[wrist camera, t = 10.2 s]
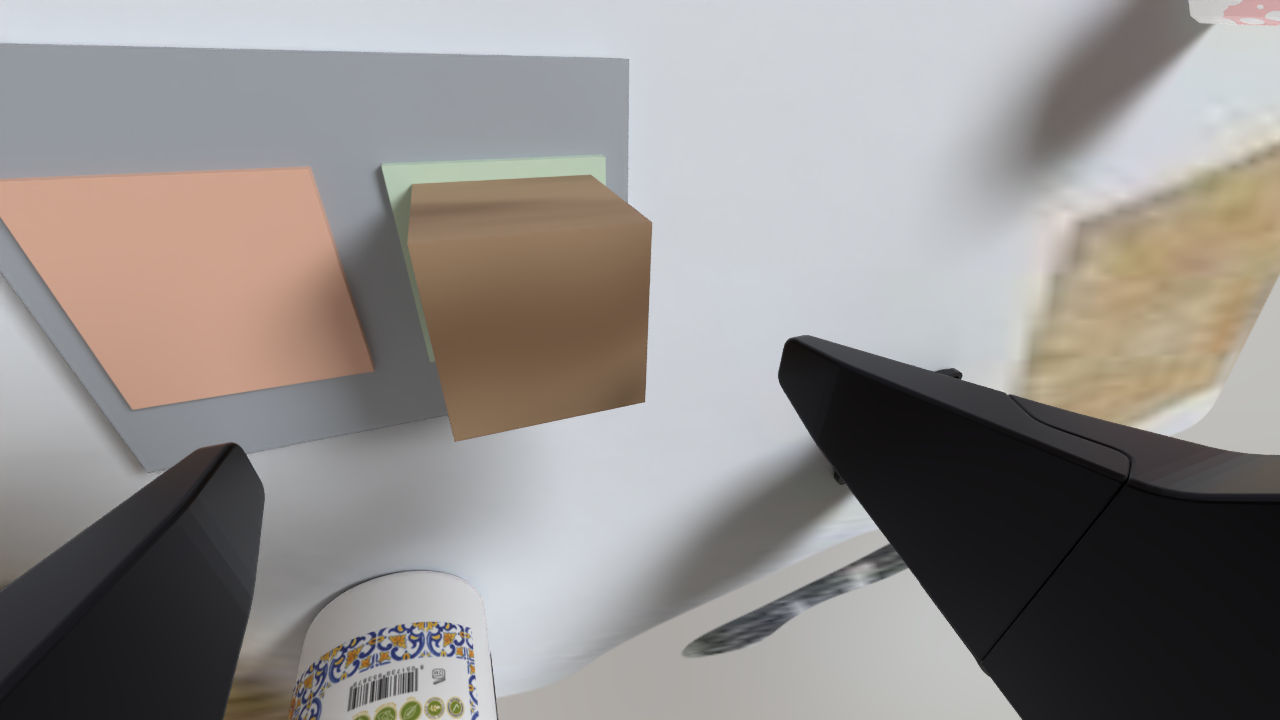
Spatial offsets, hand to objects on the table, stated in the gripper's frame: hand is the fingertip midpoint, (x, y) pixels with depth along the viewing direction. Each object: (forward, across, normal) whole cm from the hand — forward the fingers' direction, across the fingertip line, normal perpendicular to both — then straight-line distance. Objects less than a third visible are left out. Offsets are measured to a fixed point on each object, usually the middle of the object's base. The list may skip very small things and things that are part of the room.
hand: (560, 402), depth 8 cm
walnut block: (+7, 0, 0) cm, 7 cm away
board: (+8, +3, 0) cm, 9 cm away
